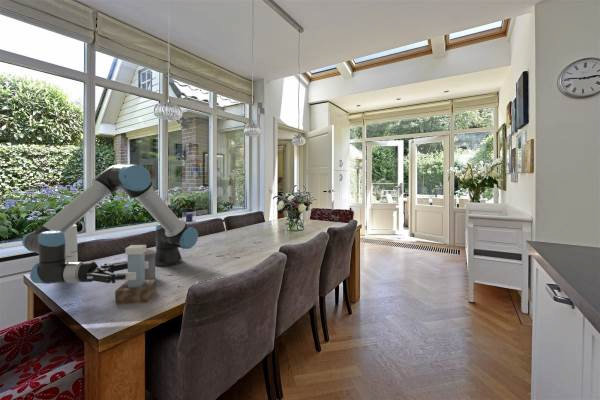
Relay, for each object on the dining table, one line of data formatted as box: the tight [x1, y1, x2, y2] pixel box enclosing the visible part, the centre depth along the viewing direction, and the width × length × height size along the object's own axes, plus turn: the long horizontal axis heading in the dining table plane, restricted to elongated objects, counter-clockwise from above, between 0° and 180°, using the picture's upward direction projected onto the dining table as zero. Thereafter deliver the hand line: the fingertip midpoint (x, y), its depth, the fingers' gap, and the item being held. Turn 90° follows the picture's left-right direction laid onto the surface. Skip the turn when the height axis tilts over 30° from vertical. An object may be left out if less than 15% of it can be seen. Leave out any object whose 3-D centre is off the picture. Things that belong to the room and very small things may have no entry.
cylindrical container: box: [64, 224, 79, 263], centre depth 135 cm, size 7×7×25 cm
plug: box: [124, 244, 147, 288], centre depth 113 cm, size 6×6×20 cm
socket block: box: [114, 279, 157, 305], centre depth 113 cm, size 11×11×6 cm
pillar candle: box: [145, 249, 156, 280], centre depth 134 cm, size 10×10×15 cm
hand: (142, 270), depth 113 cm, fingers open, 13 cm apart
